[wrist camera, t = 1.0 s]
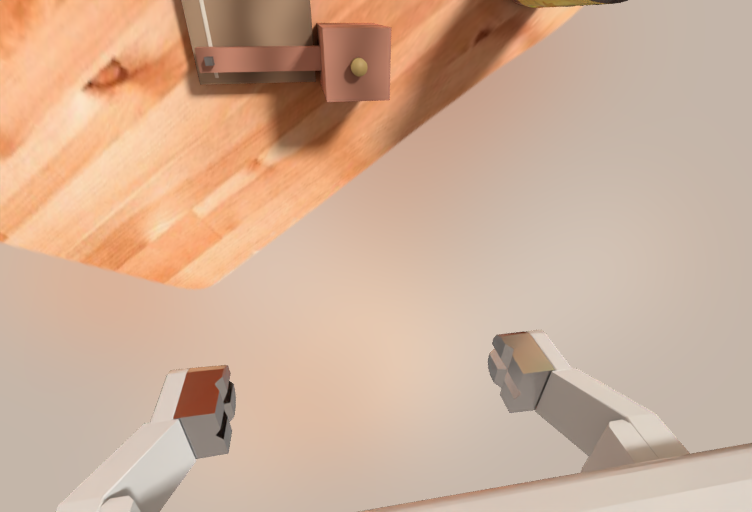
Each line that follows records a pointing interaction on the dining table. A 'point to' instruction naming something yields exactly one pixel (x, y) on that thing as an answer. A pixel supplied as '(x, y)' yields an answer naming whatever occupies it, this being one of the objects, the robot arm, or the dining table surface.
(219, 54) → the latch lever with knob
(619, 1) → the sauce bottle
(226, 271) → the dining table surface
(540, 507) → the robot arm
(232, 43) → the plank
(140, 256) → the dining table surface
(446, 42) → the dining table surface
